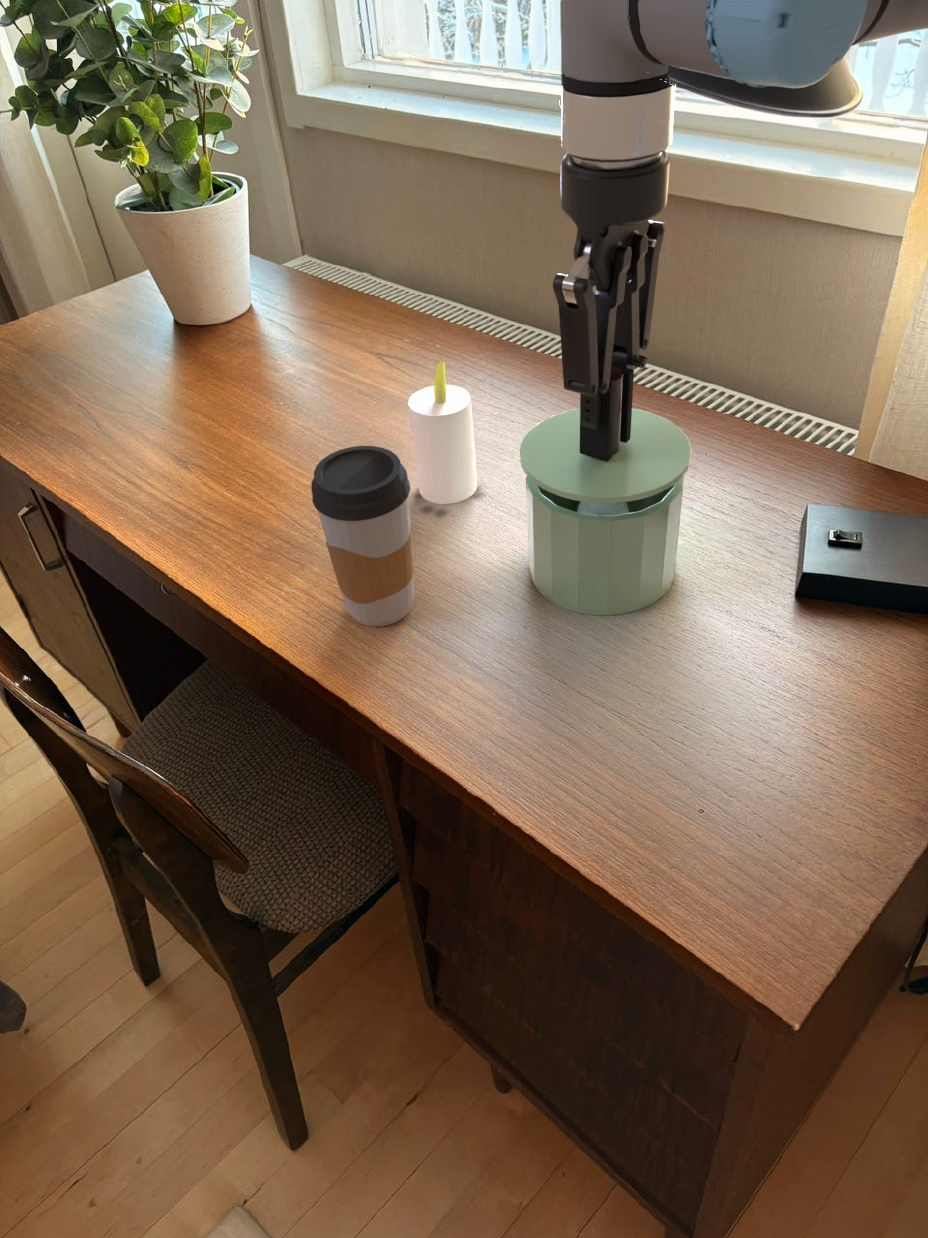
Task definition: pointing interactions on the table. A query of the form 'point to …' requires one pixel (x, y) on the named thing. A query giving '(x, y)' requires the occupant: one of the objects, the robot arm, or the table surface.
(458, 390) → the candle
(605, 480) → the lid
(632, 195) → the robot arm
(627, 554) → the pot
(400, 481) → the coffee cup
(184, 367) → the table surface
